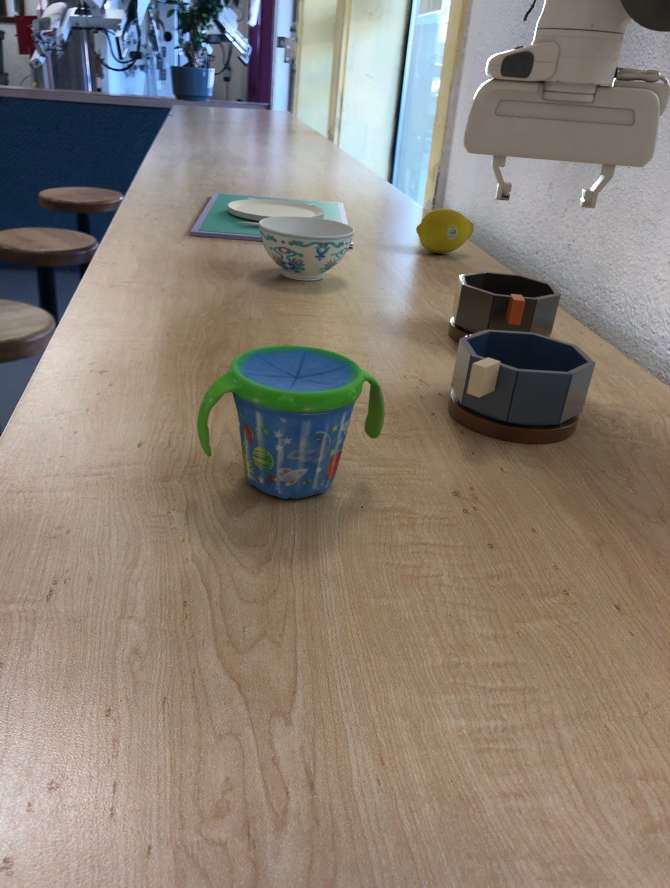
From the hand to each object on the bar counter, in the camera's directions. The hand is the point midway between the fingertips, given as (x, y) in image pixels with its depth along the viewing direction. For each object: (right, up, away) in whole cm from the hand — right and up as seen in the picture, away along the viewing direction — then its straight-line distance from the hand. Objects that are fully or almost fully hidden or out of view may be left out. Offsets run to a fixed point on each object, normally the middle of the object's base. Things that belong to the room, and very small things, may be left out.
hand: (544, 203), depth 89 cm
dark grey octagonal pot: (-1, -11, +14) cm, 18 cm away
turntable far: (-1, -12, +16) cm, 20 cm away
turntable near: (-6, -25, -7) cm, 26 cm away
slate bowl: (-7, -24, -9) cm, 26 cm away
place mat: (-32, +26, +77) cm, 88 cm away
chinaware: (-27, +2, +38) cm, 47 cm away
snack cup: (-29, -32, -23) cm, 49 cm away
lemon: (-1, +13, +60) cm, 62 cm away
